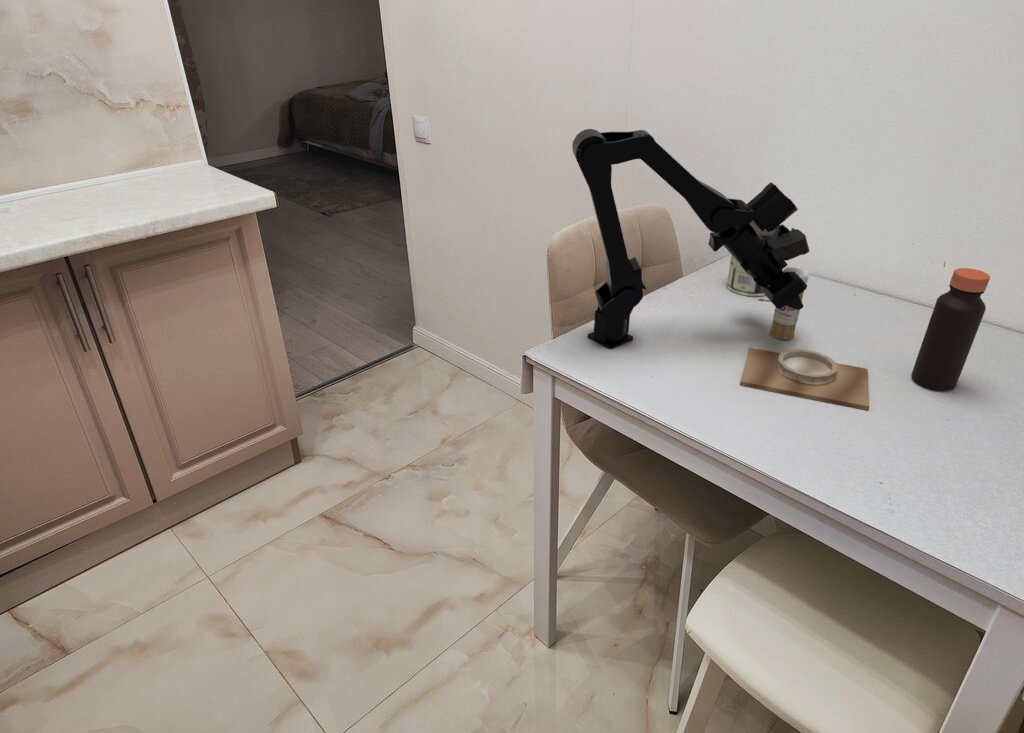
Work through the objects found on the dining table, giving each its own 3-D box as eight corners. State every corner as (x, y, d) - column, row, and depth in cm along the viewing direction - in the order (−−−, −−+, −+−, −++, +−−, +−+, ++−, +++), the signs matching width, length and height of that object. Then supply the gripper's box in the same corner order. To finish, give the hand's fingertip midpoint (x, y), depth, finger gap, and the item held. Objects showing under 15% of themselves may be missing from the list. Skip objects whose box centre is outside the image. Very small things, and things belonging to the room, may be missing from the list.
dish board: (739, 385, 114) (742, 372, 113) (748, 351, 124) (751, 339, 123) (868, 410, 107) (872, 397, 106) (866, 372, 117) (870, 360, 116)
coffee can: (770, 280, 153) (782, 221, 146) (776, 298, 145) (789, 236, 138) (724, 277, 155) (733, 218, 148) (727, 295, 147) (737, 233, 139)
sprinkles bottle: (765, 336, 130) (779, 272, 123) (774, 328, 133) (788, 264, 126) (789, 343, 127) (804, 278, 120) (797, 334, 130) (813, 270, 123)
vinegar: (903, 380, 115) (939, 272, 105) (921, 367, 119) (958, 262, 109) (944, 396, 110) (986, 285, 100) (962, 383, 114) (1004, 274, 104)
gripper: (807, 235, 110) (856, 295, 115) (767, 202, 126) (812, 256, 132) (751, 280, 114) (801, 336, 119) (719, 242, 130) (765, 293, 135)
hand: (796, 302), depth 126 cm, fingers closed on sprinkles bottle, 4 cm apart
